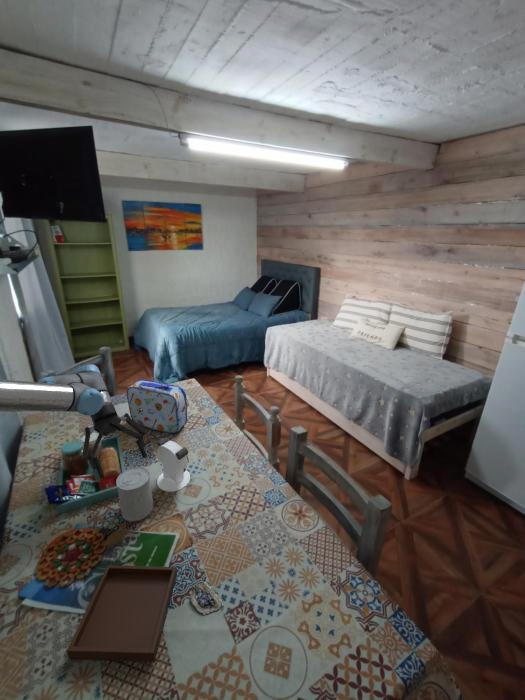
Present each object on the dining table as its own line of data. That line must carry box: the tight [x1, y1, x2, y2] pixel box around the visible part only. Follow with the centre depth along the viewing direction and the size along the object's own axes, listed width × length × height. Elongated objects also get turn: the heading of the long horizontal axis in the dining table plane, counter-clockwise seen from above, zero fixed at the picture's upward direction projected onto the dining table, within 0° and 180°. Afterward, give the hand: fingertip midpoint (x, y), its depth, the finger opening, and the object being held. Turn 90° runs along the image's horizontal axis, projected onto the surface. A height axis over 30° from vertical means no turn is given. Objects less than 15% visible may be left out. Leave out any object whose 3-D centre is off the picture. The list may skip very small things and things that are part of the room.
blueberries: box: [189, 581, 223, 616], centre depth 76 cm, size 7×8×2 cm
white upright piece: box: [156, 436, 191, 493], centre depth 110 cm, size 12×11×15 cm
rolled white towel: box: [115, 466, 154, 522], centre depth 98 cm, size 10×10×12 cm
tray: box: [66, 564, 178, 663], centre depth 73 cm, size 18×18×3 cm
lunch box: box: [126, 378, 190, 434], centre depth 139 cm, size 28×10×22 cm, turn 73°
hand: (124, 467), depth 101 cm, fingers open, 13 cm apart
